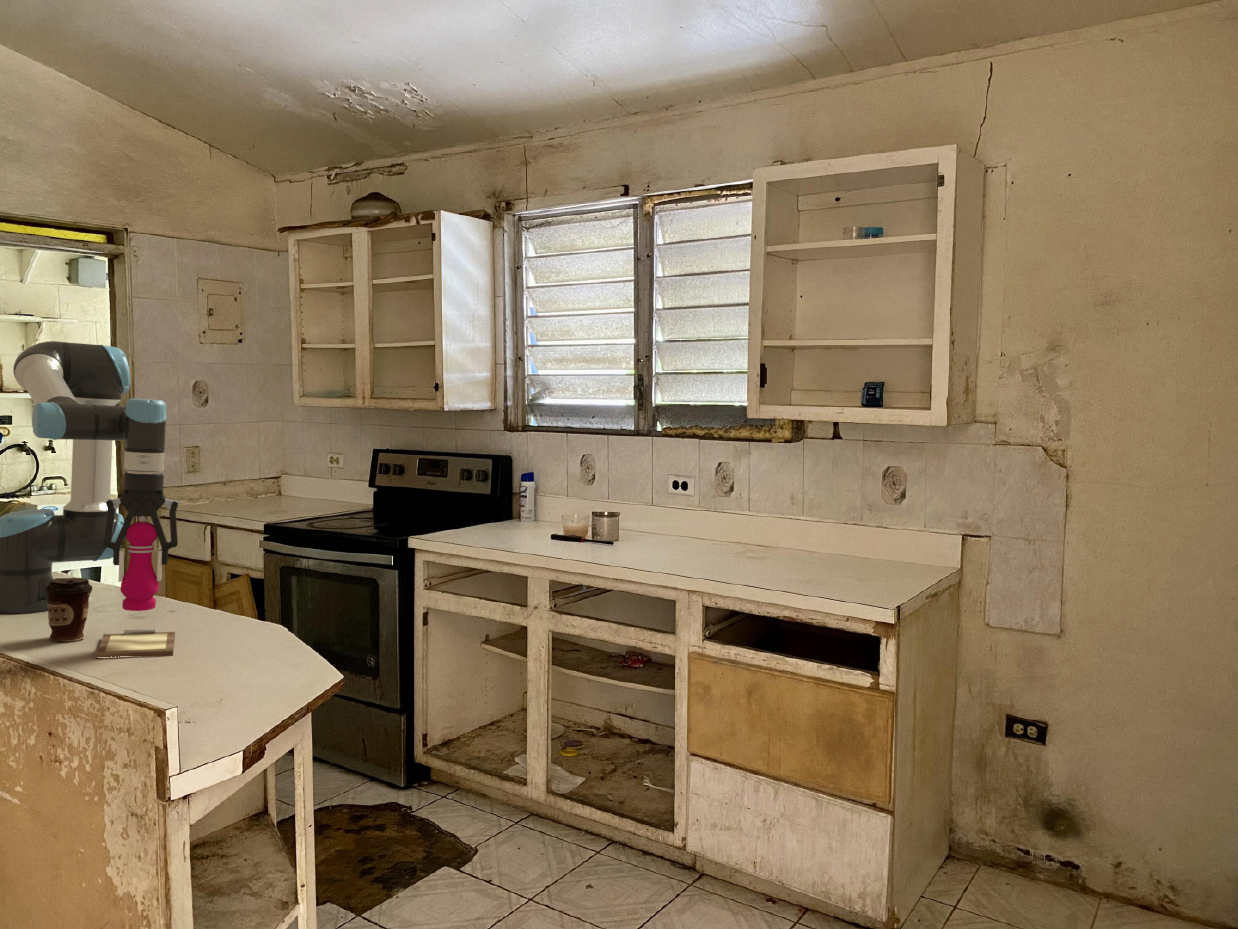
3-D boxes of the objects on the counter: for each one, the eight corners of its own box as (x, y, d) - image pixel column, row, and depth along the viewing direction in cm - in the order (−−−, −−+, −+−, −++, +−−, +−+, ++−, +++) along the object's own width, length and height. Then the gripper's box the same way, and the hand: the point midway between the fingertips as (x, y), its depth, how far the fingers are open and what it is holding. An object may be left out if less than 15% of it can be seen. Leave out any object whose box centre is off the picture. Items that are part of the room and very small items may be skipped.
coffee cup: (67, 646, 191) (69, 585, 190) (33, 641, 193) (35, 581, 192) (98, 636, 200) (100, 578, 199) (66, 632, 201) (68, 574, 201)
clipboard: (103, 638, 198) (103, 630, 198) (174, 636, 204) (175, 628, 204) (95, 659, 184) (96, 650, 184) (173, 655, 190) (173, 646, 190)
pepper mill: (165, 607, 196) (169, 514, 195) (138, 613, 189) (141, 517, 188) (139, 602, 198) (143, 511, 197) (111, 608, 191) (114, 514, 190)
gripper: (89, 472, 184) (85, 584, 186) (194, 475, 193) (190, 582, 194) (93, 469, 191) (89, 577, 192) (194, 472, 199) (190, 576, 201)
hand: (140, 580), depth 193 cm, fingers closed on pepper mill, 6 cm apart
